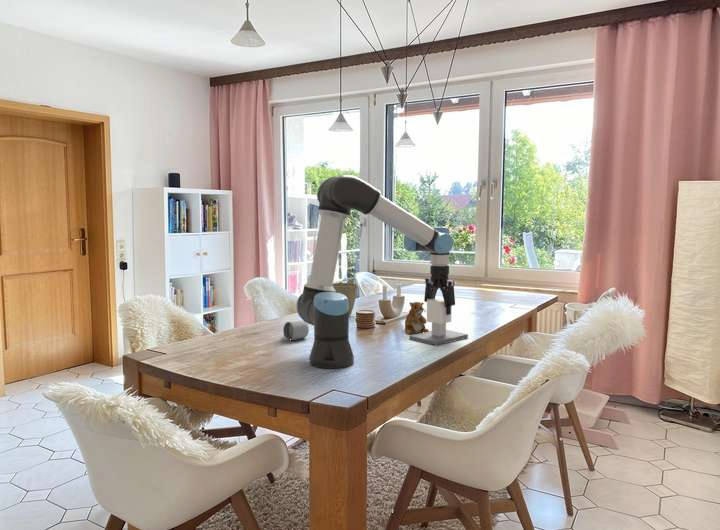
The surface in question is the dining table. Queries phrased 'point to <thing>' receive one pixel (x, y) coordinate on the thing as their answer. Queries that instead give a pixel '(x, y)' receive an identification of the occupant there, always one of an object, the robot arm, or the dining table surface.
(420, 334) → the post base
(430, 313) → the white rounded cube
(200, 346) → the dining table surface
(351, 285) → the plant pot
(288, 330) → the ceramic mug
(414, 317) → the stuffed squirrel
